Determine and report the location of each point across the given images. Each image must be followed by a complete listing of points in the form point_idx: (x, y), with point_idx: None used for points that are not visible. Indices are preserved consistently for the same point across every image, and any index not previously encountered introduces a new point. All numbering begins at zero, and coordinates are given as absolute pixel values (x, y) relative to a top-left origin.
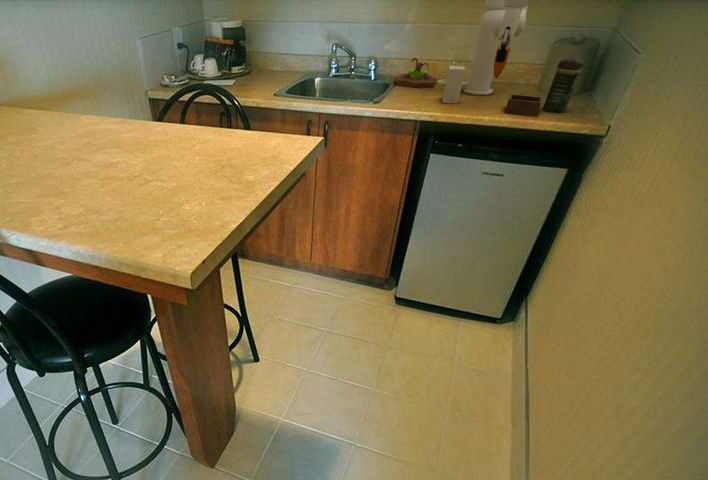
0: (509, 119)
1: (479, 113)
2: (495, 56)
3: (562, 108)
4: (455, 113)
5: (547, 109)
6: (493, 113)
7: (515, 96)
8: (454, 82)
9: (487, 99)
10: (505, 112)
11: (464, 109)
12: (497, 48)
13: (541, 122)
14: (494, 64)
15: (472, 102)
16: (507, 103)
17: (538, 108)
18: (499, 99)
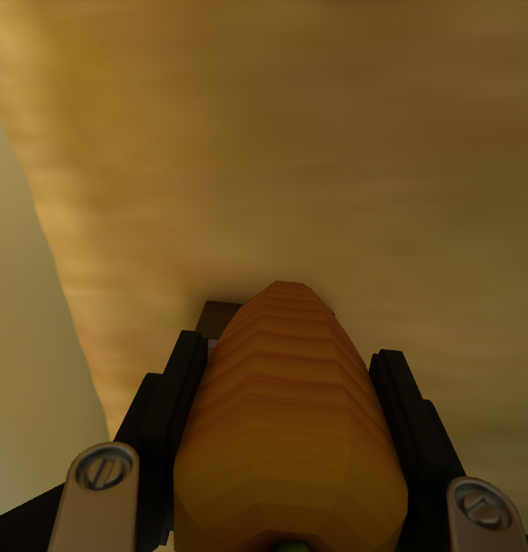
0: (93, 318)
1: (132, 173)
2: (251, 346)
3: None
4: (53, 17)
5: None
6: (170, 247)
7: None
8: None
9: (513, 205)
10: (206, 304)
11: (185, 70)
12: (240, 430)
13: (116, 428)
14: (257, 306)
15: (402, 110)
16: (197, 325)
17: None
18: (524, 274)
